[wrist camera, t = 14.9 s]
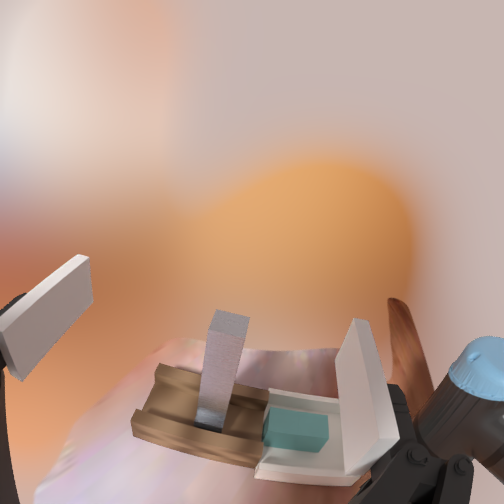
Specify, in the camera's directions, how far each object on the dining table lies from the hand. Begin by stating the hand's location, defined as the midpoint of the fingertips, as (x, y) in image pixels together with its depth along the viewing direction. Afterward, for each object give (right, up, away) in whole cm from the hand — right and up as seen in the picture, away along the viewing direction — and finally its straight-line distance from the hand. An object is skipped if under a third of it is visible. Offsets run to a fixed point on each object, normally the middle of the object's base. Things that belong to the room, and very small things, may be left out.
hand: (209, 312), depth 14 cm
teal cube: (+9, -23, +23) cm, 34 cm away
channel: (-5, -20, +23) cm, 31 cm away
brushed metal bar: (-4, -19, +22) cm, 30 cm away
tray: (+9, -24, +23) cm, 34 cm away
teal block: (+5, -22, +23) cm, 32 cm away
